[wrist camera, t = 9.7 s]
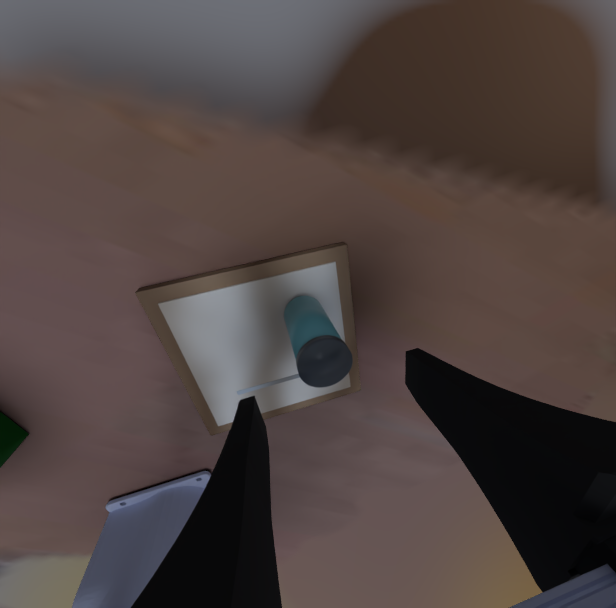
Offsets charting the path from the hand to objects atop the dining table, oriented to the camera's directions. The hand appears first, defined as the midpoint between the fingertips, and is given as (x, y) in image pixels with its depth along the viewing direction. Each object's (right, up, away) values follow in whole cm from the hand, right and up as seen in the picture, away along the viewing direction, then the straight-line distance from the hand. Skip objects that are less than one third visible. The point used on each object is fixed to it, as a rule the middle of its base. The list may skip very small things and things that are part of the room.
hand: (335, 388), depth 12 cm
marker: (-2, +4, +7) cm, 8 cm away
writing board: (-4, +1, +9) cm, 10 cm away
